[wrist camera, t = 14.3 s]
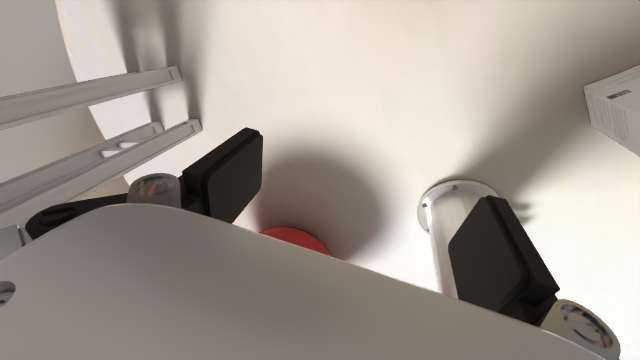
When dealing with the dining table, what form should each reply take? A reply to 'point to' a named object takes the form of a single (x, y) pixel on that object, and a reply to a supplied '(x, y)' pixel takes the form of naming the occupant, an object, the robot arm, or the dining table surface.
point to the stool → (91, 163)
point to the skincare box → (617, 107)
